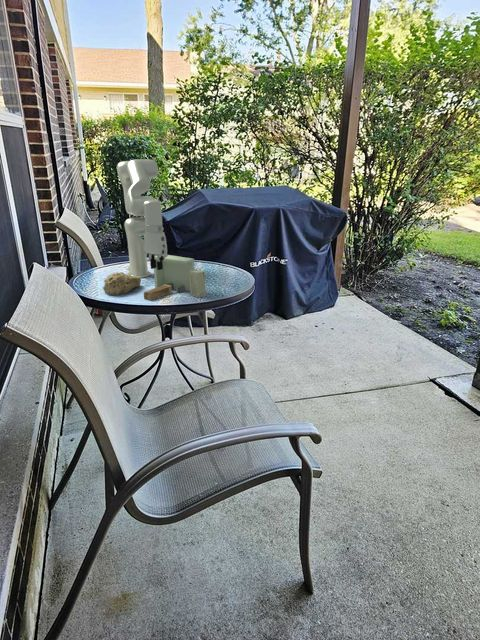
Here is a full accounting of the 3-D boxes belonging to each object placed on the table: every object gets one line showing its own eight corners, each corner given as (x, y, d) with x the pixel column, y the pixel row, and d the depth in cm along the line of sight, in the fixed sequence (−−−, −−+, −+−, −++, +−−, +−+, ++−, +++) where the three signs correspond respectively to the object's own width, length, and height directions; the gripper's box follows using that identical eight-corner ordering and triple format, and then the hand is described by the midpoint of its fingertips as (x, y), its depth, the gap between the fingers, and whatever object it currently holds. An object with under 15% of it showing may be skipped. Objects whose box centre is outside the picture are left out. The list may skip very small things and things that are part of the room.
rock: (117, 285, 218) (120, 266, 215) (142, 293, 216) (145, 275, 213) (95, 292, 198) (99, 272, 196) (123, 301, 197) (127, 281, 194)
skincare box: (206, 296, 197) (205, 271, 193) (199, 298, 194) (198, 272, 190) (196, 293, 201) (196, 268, 197) (190, 295, 198) (189, 270, 194)
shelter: (155, 288, 209) (152, 256, 204) (164, 285, 215) (162, 254, 209) (186, 294, 200) (184, 261, 194) (195, 291, 205) (194, 258, 199)
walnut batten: (144, 299, 193) (143, 291, 192) (165, 291, 205) (165, 284, 204) (150, 300, 191) (150, 293, 190) (171, 292, 203) (171, 285, 202)
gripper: (173, 229, 186) (175, 269, 192) (146, 226, 194) (149, 265, 200) (162, 231, 180) (164, 273, 186) (134, 228, 188) (138, 268, 194)
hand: (156, 268), depth 193 cm, fingers open, 3 cm apart
